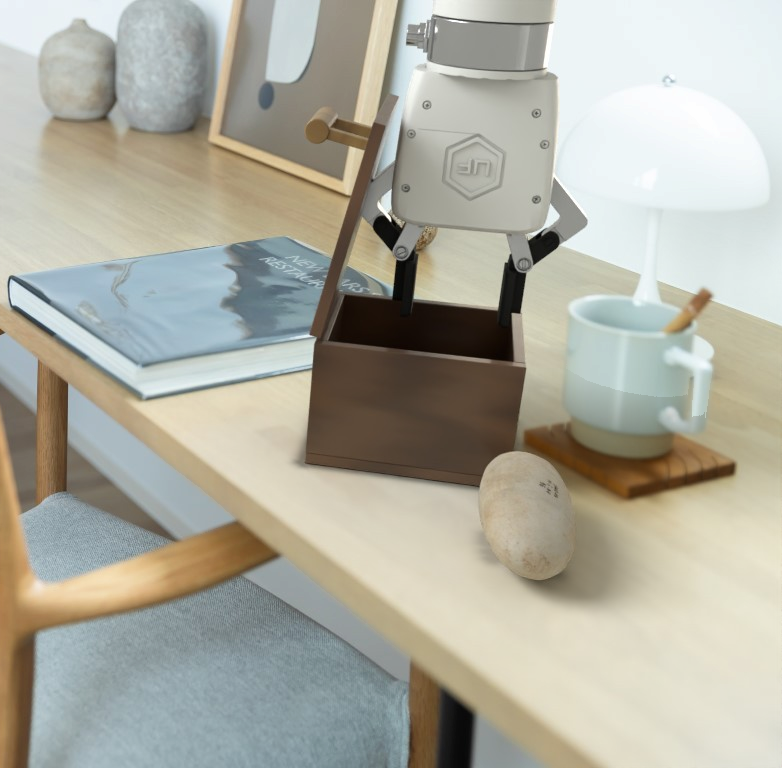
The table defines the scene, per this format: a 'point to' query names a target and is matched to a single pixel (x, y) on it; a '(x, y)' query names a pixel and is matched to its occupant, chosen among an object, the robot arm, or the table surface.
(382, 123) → the lid
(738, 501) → the table surface
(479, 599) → the table surface
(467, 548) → the table surface
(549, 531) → the stone
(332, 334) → the keepsake box
